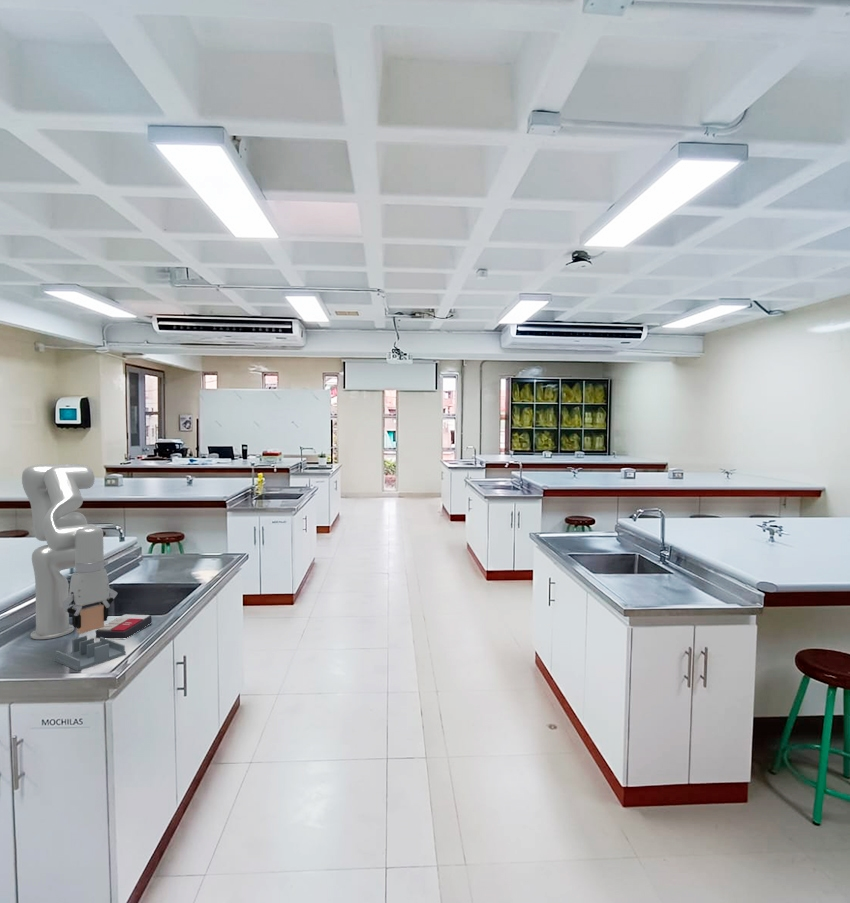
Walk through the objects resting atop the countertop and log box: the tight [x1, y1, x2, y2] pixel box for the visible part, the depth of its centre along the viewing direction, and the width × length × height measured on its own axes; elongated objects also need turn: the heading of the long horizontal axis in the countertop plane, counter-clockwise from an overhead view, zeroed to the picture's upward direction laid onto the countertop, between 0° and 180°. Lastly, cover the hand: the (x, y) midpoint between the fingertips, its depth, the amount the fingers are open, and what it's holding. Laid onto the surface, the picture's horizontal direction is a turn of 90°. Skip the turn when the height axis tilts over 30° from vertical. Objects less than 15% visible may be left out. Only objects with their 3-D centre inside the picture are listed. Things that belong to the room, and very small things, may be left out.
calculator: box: [95, 614, 153, 639], centre depth 185 cm, size 11×4×15 cm
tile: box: [76, 603, 105, 635], centre depth 162 cm, size 2×7×7 cm, turn 149°
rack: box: [54, 635, 127, 672], centre depth 162 cm, size 14×14×5 cm
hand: (90, 623), depth 162 cm, fingers closed on tile, 7 cm apart
